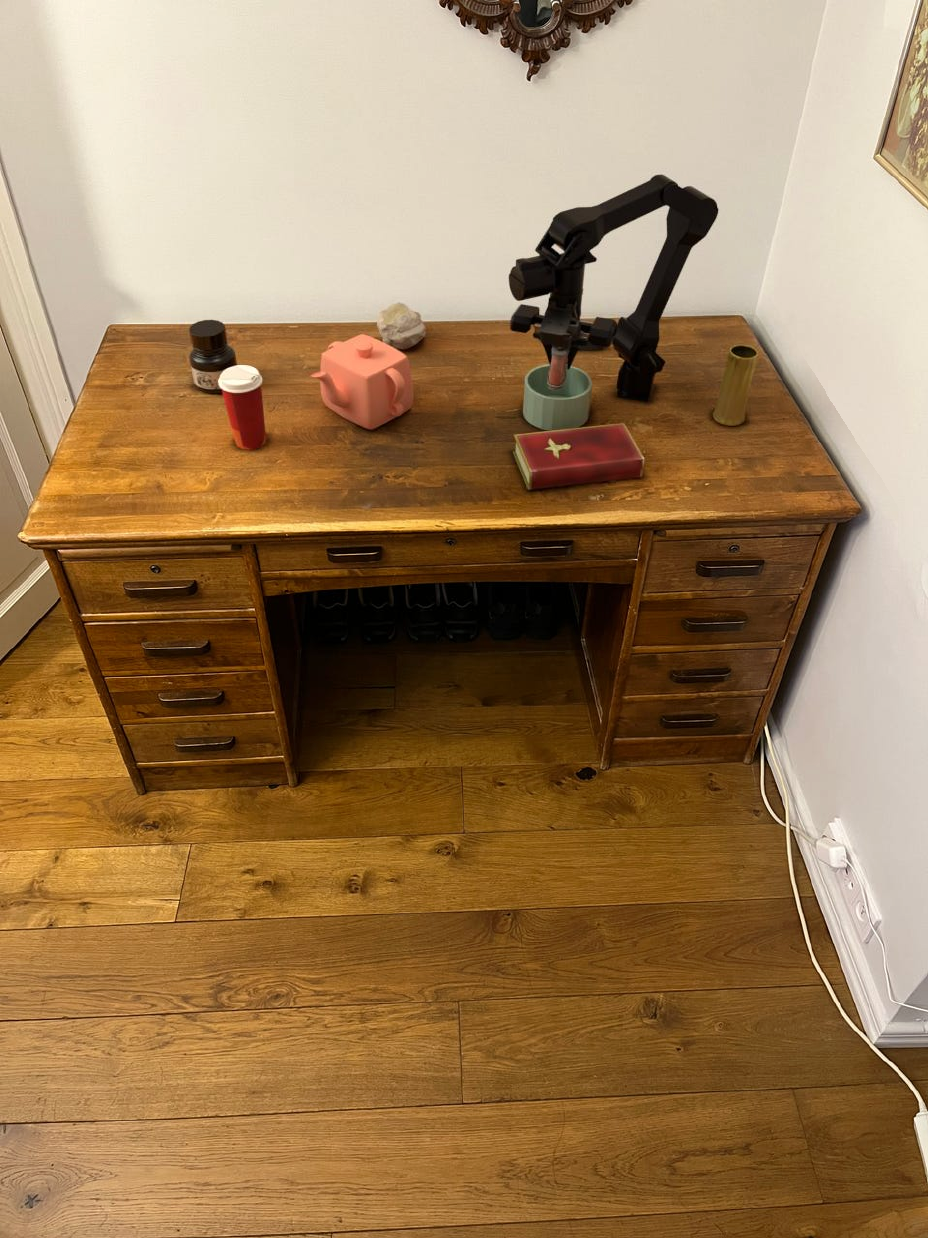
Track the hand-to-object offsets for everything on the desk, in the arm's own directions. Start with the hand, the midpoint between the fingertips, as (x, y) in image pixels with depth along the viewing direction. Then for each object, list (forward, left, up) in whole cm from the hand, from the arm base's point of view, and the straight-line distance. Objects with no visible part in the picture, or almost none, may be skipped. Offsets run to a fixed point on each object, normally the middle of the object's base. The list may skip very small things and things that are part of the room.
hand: (560, 366), depth 184 cm
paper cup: (+51, +29, -10) cm, 60 cm away
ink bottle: (+67, +13, -10) cm, 69 cm away
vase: (-32, -10, -10) cm, 35 cm away
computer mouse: (+3, -28, -10) cm, 30 cm away
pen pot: (0, 0, -10) cm, 10 cm away
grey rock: (+38, -15, -10) cm, 42 cm away
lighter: (+1, 0, -3) cm, 3 cm away
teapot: (+36, +14, -10) cm, 40 cm away
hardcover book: (-8, +16, -10) cm, 20 cm away
